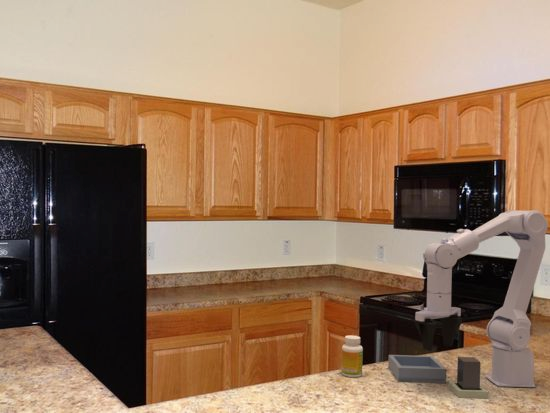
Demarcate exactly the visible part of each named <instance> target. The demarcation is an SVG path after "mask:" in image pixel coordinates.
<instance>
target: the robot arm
mask: <svg viewBox="0 0 550 413" xmlns="http://www.w3.org/2000/svg"><path fill="white" fill-rule="evenodd" d="M548 228H549V223H548V221H547V218H546V217H545V215H544V214H543V212H541V211H540V210H536V209H534V210H532V209H531V210H514V209H509V210H507V211H505V212H502V213H499V215H498V216H496V217H494V218H493V219H491V220H489V221H487V222H486V223H483V224H482V225H480V226H478V227H477V228H475V229H474V230H470V229H468V228H466V229H463V228H459V229H457V230H456V233H455V234H453V235H451V236H449V237H443V238H441V241H440V242H433V243H430V244H429V245H428V246H427V247H426V248H425V250H424V253H422V257H423V261H424V262H425V264H426V270H427V273H426V275H427V277H426V279H427V281H426V307H423V309H422V310H420V311H415V317H414V318H413V319H414V320H413V321H414V325H415V327H416V329H417V331H418V332H419V333H418V334H419V336H420V339H421V344H422V349H423V350H425V351H429V352H430V351H433V346H434V338H435V337H434V336H435V331H436V329H437V327H438V323H436V322H433V321H432V320H435V319H436V320H437V319H439V321H440V324H441V329H442V341H443V345H444V346H447V347H451V348H452V347H453V345H454V341H455V338H456V336H457V335H456V334H457V331H458V329H459V328H460V327H461V325H462V323H463V318H462V317H461V314H462V312H461V310H462V308H460V307H456V306H452V278H453V277H452V275H453V274H452V273H453V272H452V271H453V267H454V266H455V265H456V264H457V261H458V260H459V259H461V258H463V257H465V256H467V255H469V254H471V253H473V252H475V251H477V250H478V249H479V246H480V243H482V242H485V241H487V240H489V239H491V238H494V237H496V236H497V235H500V234H503V233H506V234H507V235H508V236H509V237H510V238H512V239H513V241H515V242H516V244H517V245H518V247H519V249H520V250H519V253H518V256H517V260H516V263H515V266H514V269H513V273H512V275H511V279H510V282H509V285H508V288H507V289H508V290H507V293H506V295H505V299H504V302H503V305H502V306H501V307H500V308H499V309H497V310H495V311H494V312H493V313H494V314H493V315H492V318H491V319H490V321H488V324H487V325H486V335H487V337H488V338H489V339H490V344H491V345H492V347H491V349H492V350H491V374H485V375H484V376H485V378H487V380H489V381H490V382H491V383H493V384H494V385H495V386H497V387H509V388H511V387H513V388H516V387H517V388H535V387H536V385H535V383H534V382H535V381H534V377H535V357H534V354H533V351H532V350H531V349H530V348H527V347H528V345H529V343H530V341H531V327H532V322H531V320H530V318H529V317H528V316H527V310H528V307H529V304H530V300H531V297H532V294H533V290H534V287H535V284H536V280H537V277H538V273H539V270H540V267H541V264H542V262H543V258H544V254H545V250H546V233H547V231H548Z"/></svg>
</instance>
